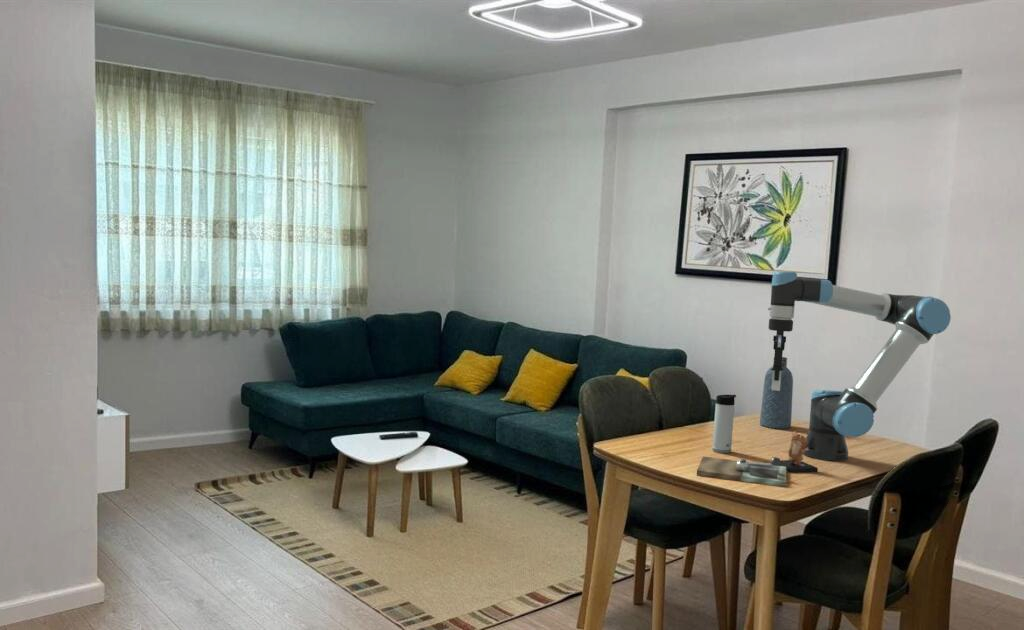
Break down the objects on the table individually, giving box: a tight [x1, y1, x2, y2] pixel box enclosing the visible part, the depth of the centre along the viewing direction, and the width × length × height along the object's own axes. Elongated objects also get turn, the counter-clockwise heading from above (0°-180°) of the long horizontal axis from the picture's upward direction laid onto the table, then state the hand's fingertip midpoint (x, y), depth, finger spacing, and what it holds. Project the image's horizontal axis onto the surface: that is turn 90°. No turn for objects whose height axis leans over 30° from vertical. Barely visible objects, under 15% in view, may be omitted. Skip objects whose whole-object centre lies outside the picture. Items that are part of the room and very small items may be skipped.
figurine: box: [779, 430, 819, 474], centre depth 273 cm, size 10×10×12 cm
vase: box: [759, 356, 794, 430], centre depth 343 cm, size 12×12×28 cm
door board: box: [696, 456, 787, 488], centre depth 264 cm, size 26×20×4 cm
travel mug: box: [711, 394, 737, 454], centre depth 292 cm, size 6×7×20 cm
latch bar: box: [736, 456, 781, 474], centre depth 260 cm, size 13×4×4 cm, turn 84°
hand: (775, 390), depth 277 cm, fingers closed
